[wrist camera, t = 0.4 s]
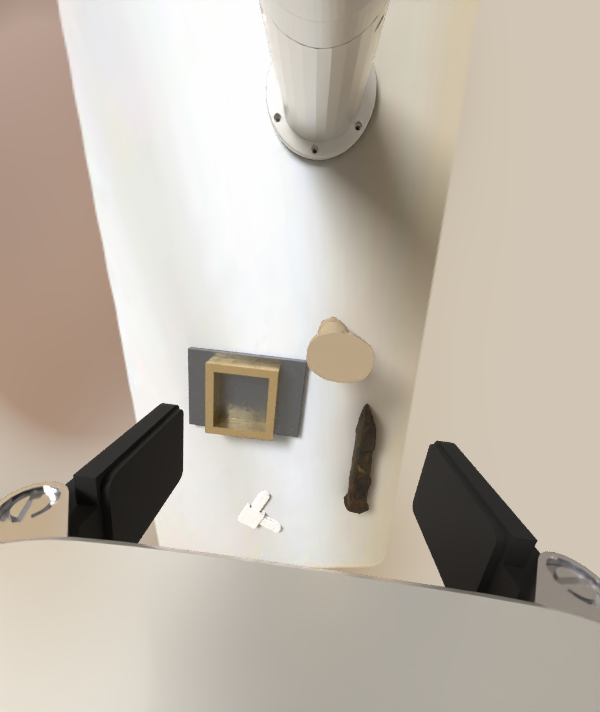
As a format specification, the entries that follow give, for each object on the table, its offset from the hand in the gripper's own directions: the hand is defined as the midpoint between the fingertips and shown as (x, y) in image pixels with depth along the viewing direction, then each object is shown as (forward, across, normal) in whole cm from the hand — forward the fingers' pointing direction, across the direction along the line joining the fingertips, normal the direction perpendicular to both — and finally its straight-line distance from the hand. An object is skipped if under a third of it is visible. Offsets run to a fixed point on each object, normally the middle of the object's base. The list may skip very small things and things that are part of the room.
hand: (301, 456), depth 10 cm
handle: (+32, -3, 0) cm, 32 cm away
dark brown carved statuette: (+33, -11, +21) cm, 40 cm away
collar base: (+32, +9, +12) cm, 35 cm away
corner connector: (+33, +3, +36) cm, 49 cm away
